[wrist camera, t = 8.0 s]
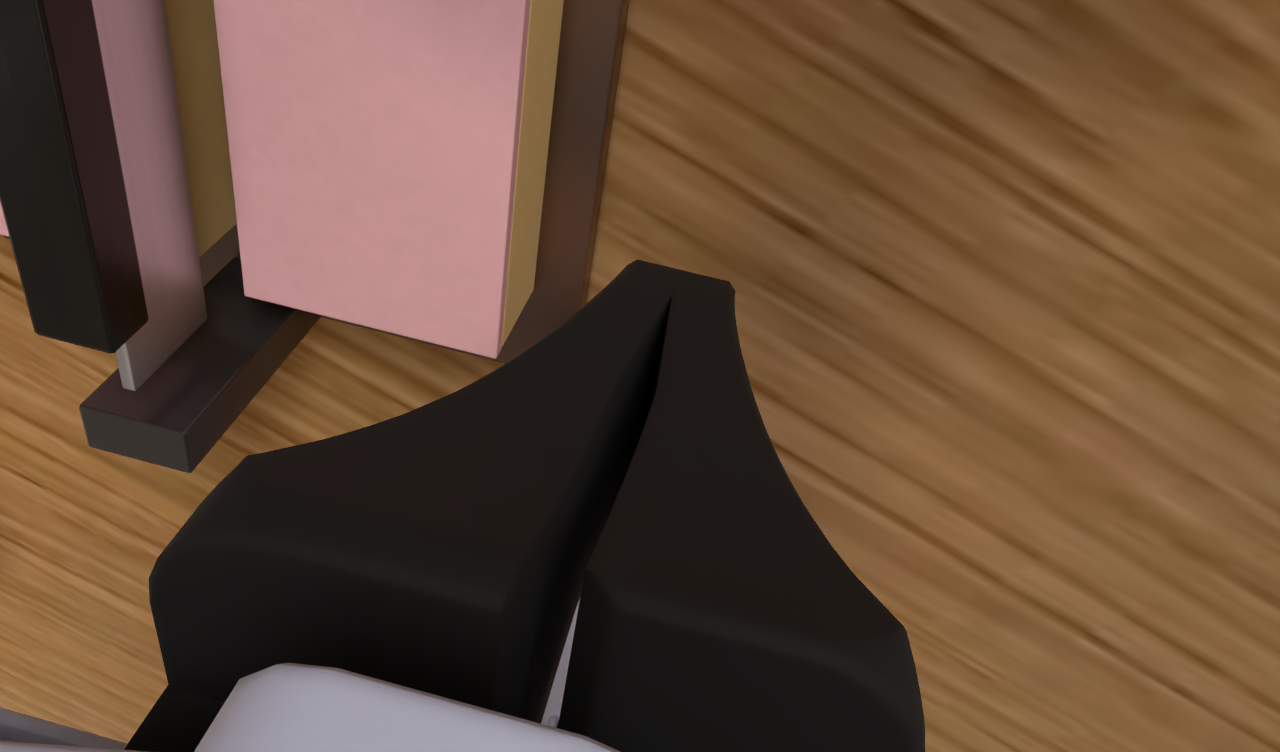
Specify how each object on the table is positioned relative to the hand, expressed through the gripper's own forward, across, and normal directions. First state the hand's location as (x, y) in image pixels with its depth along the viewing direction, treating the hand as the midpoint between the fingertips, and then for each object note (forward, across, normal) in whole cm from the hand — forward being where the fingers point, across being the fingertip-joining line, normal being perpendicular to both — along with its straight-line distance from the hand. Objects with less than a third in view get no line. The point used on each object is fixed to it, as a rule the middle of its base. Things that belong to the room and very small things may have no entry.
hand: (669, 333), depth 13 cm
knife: (+6, +11, 0) cm, 12 cm away
